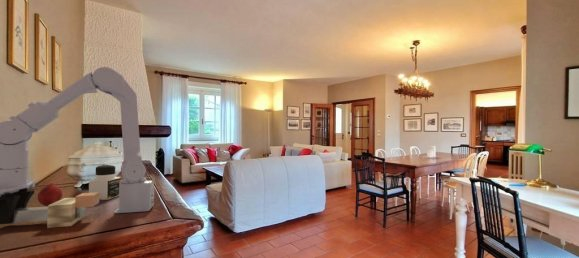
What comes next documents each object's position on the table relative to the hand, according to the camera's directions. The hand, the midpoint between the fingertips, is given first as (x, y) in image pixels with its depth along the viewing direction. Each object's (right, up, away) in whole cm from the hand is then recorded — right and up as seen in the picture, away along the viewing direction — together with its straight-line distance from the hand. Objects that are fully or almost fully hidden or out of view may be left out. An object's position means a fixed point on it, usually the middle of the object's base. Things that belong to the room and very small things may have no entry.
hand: (11, 221), depth 66 cm
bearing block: (+11, -1, +4) cm, 12 cm away
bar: (+8, 0, +2) cm, 8 cm away
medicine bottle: (+3, -2, +30) cm, 30 cm away
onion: (-6, -2, +17) cm, 18 cm away
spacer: (+16, +3, +5) cm, 17 cm away
